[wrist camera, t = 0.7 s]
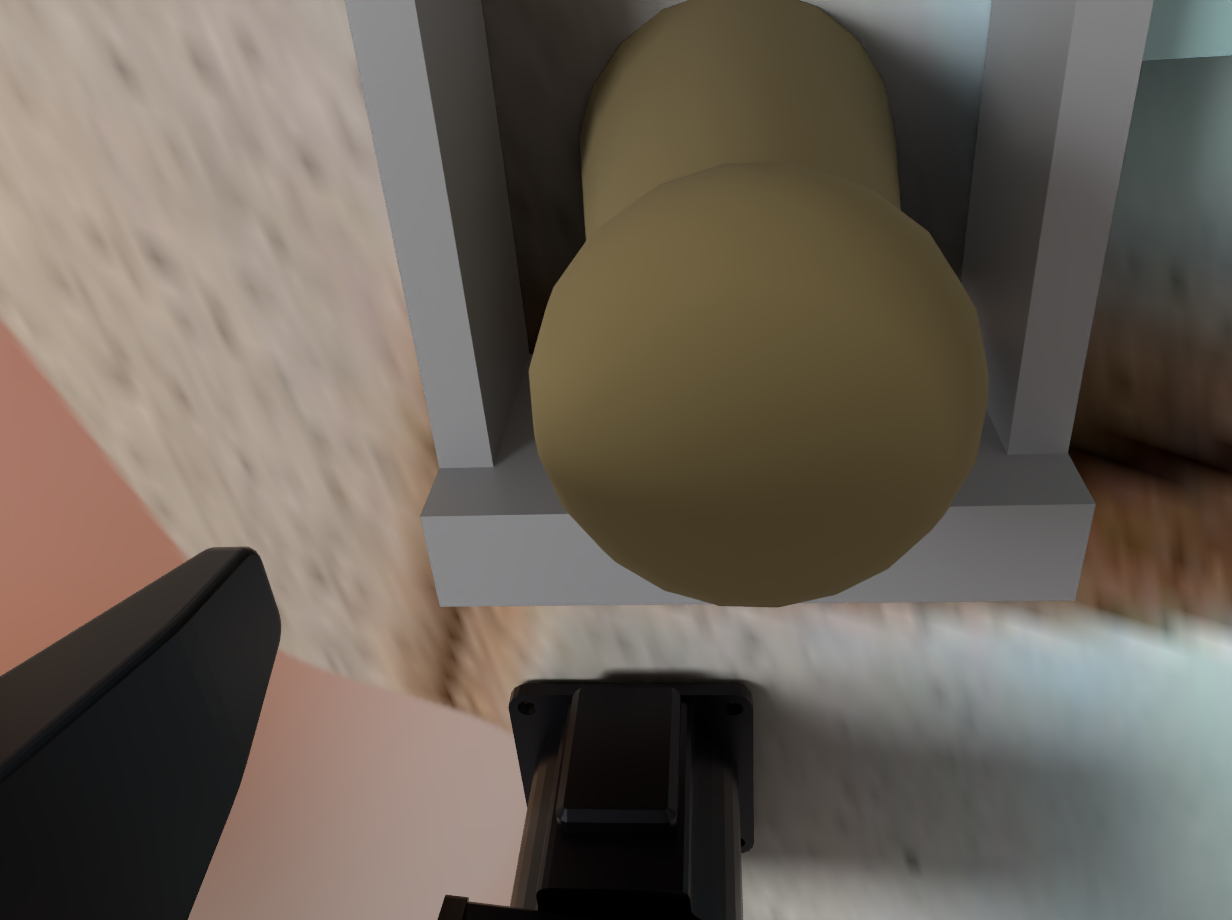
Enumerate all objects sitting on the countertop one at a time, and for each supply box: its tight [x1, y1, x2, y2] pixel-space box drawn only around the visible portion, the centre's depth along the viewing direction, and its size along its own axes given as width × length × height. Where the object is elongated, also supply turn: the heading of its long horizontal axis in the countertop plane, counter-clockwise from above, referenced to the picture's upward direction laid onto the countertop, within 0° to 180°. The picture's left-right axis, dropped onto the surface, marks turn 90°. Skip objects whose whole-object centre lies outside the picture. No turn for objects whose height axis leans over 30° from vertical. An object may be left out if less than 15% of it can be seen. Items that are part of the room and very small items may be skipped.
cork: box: [529, 0, 989, 607], centre depth 15 cm, size 6×6×11 cm
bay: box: [345, 0, 1154, 607], centre depth 17 cm, size 12×11×6 cm
